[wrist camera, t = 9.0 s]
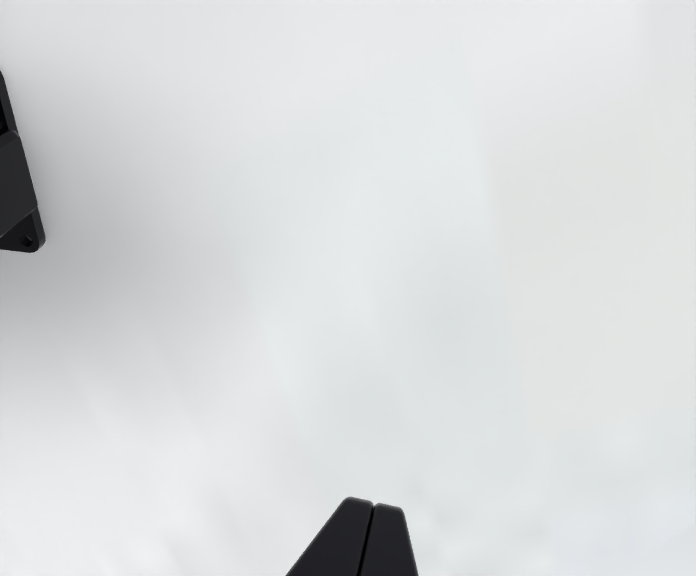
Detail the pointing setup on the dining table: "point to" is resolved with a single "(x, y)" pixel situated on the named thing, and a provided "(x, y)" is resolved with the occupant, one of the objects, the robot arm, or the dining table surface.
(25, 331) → the dining table surface
